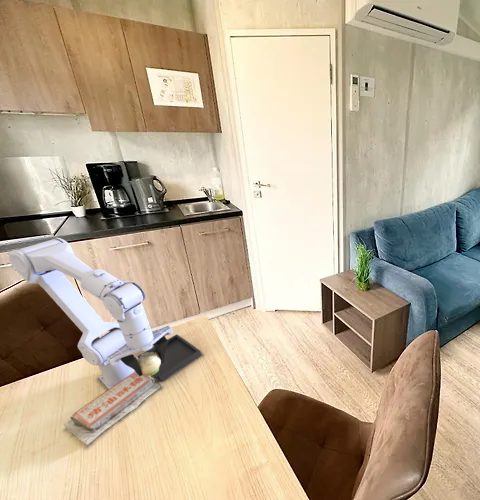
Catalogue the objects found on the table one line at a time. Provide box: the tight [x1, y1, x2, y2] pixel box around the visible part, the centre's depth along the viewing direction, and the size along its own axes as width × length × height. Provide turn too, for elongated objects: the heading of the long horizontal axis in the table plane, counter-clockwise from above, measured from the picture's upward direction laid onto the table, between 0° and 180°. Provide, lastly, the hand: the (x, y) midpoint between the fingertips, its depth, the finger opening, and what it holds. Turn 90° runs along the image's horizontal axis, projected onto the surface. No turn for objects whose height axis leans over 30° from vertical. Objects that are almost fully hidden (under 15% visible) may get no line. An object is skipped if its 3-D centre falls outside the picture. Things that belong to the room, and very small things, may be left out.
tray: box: [137, 334, 202, 382], centre depth 92 cm, size 14×12×2 cm
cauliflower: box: [137, 351, 161, 377], centre depth 77 cm, size 5×5×6 cm
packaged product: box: [63, 372, 161, 446], centre depth 75 cm, size 18×5×10 cm
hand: (150, 367), depth 78 cm, fingers closed on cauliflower, 5 cm apart
